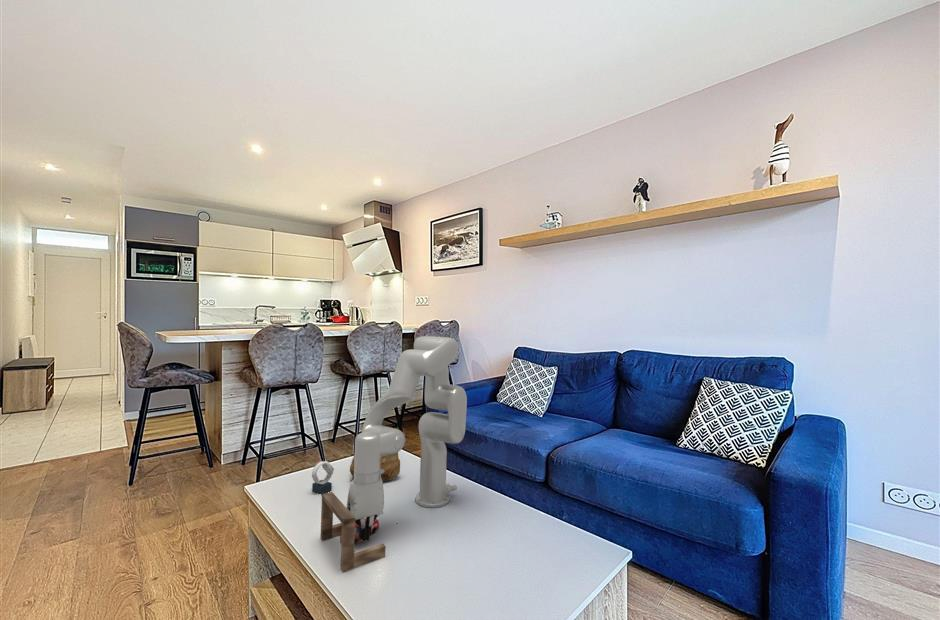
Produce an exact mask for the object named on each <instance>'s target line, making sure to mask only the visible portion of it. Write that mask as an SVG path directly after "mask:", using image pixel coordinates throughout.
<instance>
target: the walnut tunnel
mask: <svg viewBox="0 0 940 620" xmlns="http://www.w3.org/2000/svg"><path fill="white" fill-rule="evenodd" d="M334 516H336V518H337V519H338V520H339V521H340V523H337V524H336V523H335V524H334V523H333V521H334ZM340 536H341V543H340V567H339V570H340V572H341V573H344V572H347V571H350V570H352V569H356V568H359V567H361V566H364V565H367V564H370V563H373V562H375V561H378V560H380V559H381V560H382V559H384V558H385V557H386V548H387V547H386V545H385V543H381V544H378V545H375V546H372V547H369V548H368V547H367V548H366V549H364V550H359V551H357V552H355V545H354V539H355V517H354V516H353V515H352V514H351V512H350V511H349V510H348V509H347V506H345V504H344V503H343V502H342V501H341V500H340V499H339V498H338V496H336V494H335V493H334V492H333V491H331V492H329V493H324V494H322V495H321V515H320V538H319V539H320V541H321V542H324V541H327V540H331V539H334V538H337V537H340Z"/></svg>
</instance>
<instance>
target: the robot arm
mask: <svg viewBox="0 0 940 620" xmlns="http://www.w3.org/2000/svg"><path fill="white" fill-rule="evenodd" d="M458 354H459V343H458V341H456V339H455V338H452V337H447V336H445V337H444V336H429V335H428V336H427V335H426V336H425V335H423V336H422V335H421V336H418V337H416V339H414V342H413V349H406V350H404V351H403V352H402V353H400V356H399V358H398V361H397V364H396V367H395V370H394V373H393V375H392V379H391V381H390V384H389V387H388V390H387V392H386V393H385V394H384V395H382V396H381V397H380V398H379V399H378V400H377V401H376V402H375V403H374V404H373V405H372V407H370V409H369V411H368V413H367V415H366V417H365V420H364V422H363V426H362V429H361V433H358V434H357V435H356V436H355V439H354V453H355V459H354V479H353V480H351V481H350V483H349V488H348V491H347V501H346V508H347V509H348V510H349V511H350V512H351V514H352V515H353V516H354V517H355V524H357V525H358V526H359V537H360V539H362V540H361V541H362V542H363V543H366V542H369V541H370V540H371V539H370V538H371V535H372V534H371V526H372V525H373V522H374V521H375V519H377V518H379V517H380V516H382V515H384V509H385V493H384V492H385V490H384V484H383V483H384V482H382V478H381V474H382V473H384V469H381V468H380V465H381V456H384V455H390V454H395V453H397V452H398V453H399V452H400V451H401V450H402V449H403V448H404V447H405V443H406V436H405V434H404V433H403V432H402V431H401V430H400V429H398V428H395V427H394V428H393V427H390V426H385V425H383V421H384V419H385V417H386V416H387V414H388V413H389V412H391V411H392V410H394V409H395V408H397V407H399V406H401V405H404V404H408V403H410V402H411V401H412V400H413V399H414V397H415V393H416V390H417V387H418V384H419V382H420V378H421V376H423V377H425V382H424V383H425V384H424V385H425V386H424V404H425V405H426V407H427V408H430V409H432V410H433V409H434V410H437V411H444V412H447V413H442V412H436V411H435V412H434V411H433V412H432V411H429V412H428V411H427V412H426V413H424V414H423V415H422V416H421V417H420V418H419V421H418V433H419V439H420V463H419V464H420V466H419V467H420V469H419V470H420V471H419V492H418V493H416V494H415V496H414V502H416V504H417V505H418V506H419V505H420V506H421V507H425V508H439V507H442V506H445V505H447V504H448V503H449V502H450V500H451V499H450V498H451V497H450V493H451V492H454V491H456V490H457V489H458V486H457V485H456V484H452V485H451V484H450V483H447V459H448V458H447V456H448V455H447V454H448V452H447V451H448V449H447V446H446V443H447V444H452V445H455V444H459V443H461V442H462V441H463V439H464V437H465V433H466V424H467V407H468V406H467V405H468V402H467V401H468V398H467V397H468V396H467V393H466V391H465V389H464V387H462V386H459V385H456V384H450V382H449V381H450V379H449V378H450V376H449V375H450V374H449V373H450V370H449V366H450V364H452V363H453V362H454V361H455V360H456V358H457V357H458ZM365 518H366V522H365Z"/></svg>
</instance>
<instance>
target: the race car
mask: <svg viewBox="0 0 940 620" xmlns="http://www.w3.org/2000/svg"><path fill="white" fill-rule="evenodd" d="M365 522H366V518H365ZM379 528H380V522H379V520H378V519H377V518H376V519H375V521H374V522H373V525H372V526H371V535H374V534H376V532H377V531H378V530H379ZM339 537H340V538H339V539H340V540H339V541H340V544H341V536H339ZM361 541H363V540H362V539H360V537H359V526H358V525H357V524H355V539H354V546H356V545H357V543H359V542H361Z"/></svg>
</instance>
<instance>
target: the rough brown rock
mask: <svg viewBox="0 0 940 620" xmlns="http://www.w3.org/2000/svg"><path fill="white" fill-rule="evenodd" d="M354 459H355V452H354V454H353V458H352V460H351V463H350V465H349V472H350V474H351V478H352V479H353V480H354ZM380 468H381V469H384V473H382V474H381V478H382V482H383V483H386V481H391V480H393V479H395V478H396V477H397V476H399V474H400V472H401V460H400V458H399V452H397V453H395V454H390V455H384V456H381V465H380Z"/></svg>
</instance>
